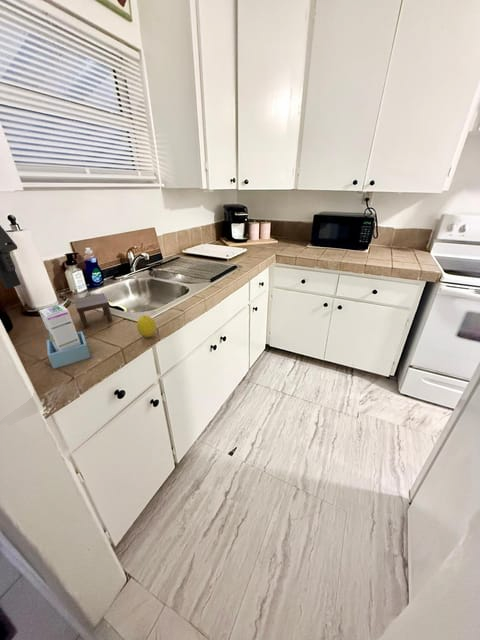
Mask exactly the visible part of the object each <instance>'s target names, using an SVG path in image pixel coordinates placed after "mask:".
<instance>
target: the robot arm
mask: <svg viewBox="0 0 480 640" xmlns="http://www.w3.org/2000/svg"><path fill="white" fill-rule="evenodd" d="M16 250H18V245H17V244H16V242H15V241H14V240H13V239H12V238H11V237H10V235H9V234H8V232H7V231H6V230H5V229H4V228H3V227H2V226H1V225H0V281H1V283H2V285H3V287H4V289H5V290H10V289H13V288H15V287H16V288H17V287H18V286H21V285H22V283H21V281H20V279H19V276H18V274H17V272H16V266H15V263H14V261H13V258H12V257H11V252H13V251H16Z"/></svg>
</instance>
